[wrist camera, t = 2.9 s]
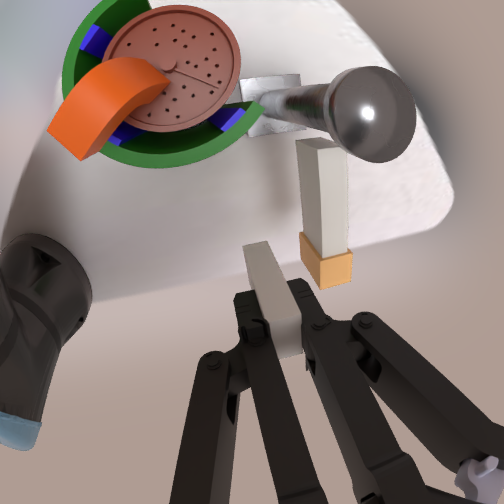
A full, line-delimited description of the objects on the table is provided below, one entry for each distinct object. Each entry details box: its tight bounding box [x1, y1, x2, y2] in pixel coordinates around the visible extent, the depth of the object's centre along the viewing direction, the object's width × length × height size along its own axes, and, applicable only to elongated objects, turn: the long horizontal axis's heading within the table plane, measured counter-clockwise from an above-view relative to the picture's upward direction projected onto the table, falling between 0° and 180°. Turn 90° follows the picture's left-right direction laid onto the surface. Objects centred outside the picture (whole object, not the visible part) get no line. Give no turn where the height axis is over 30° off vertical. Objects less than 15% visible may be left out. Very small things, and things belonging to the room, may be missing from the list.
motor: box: [47, 0, 265, 168], centre depth 15 cm, size 10×9×20 cm
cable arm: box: [295, 137, 353, 290], centre depth 20 cm, size 3×10×5 cm, turn 8°
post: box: [239, 66, 416, 163], centre depth 18 cm, size 6×6×18 cm
